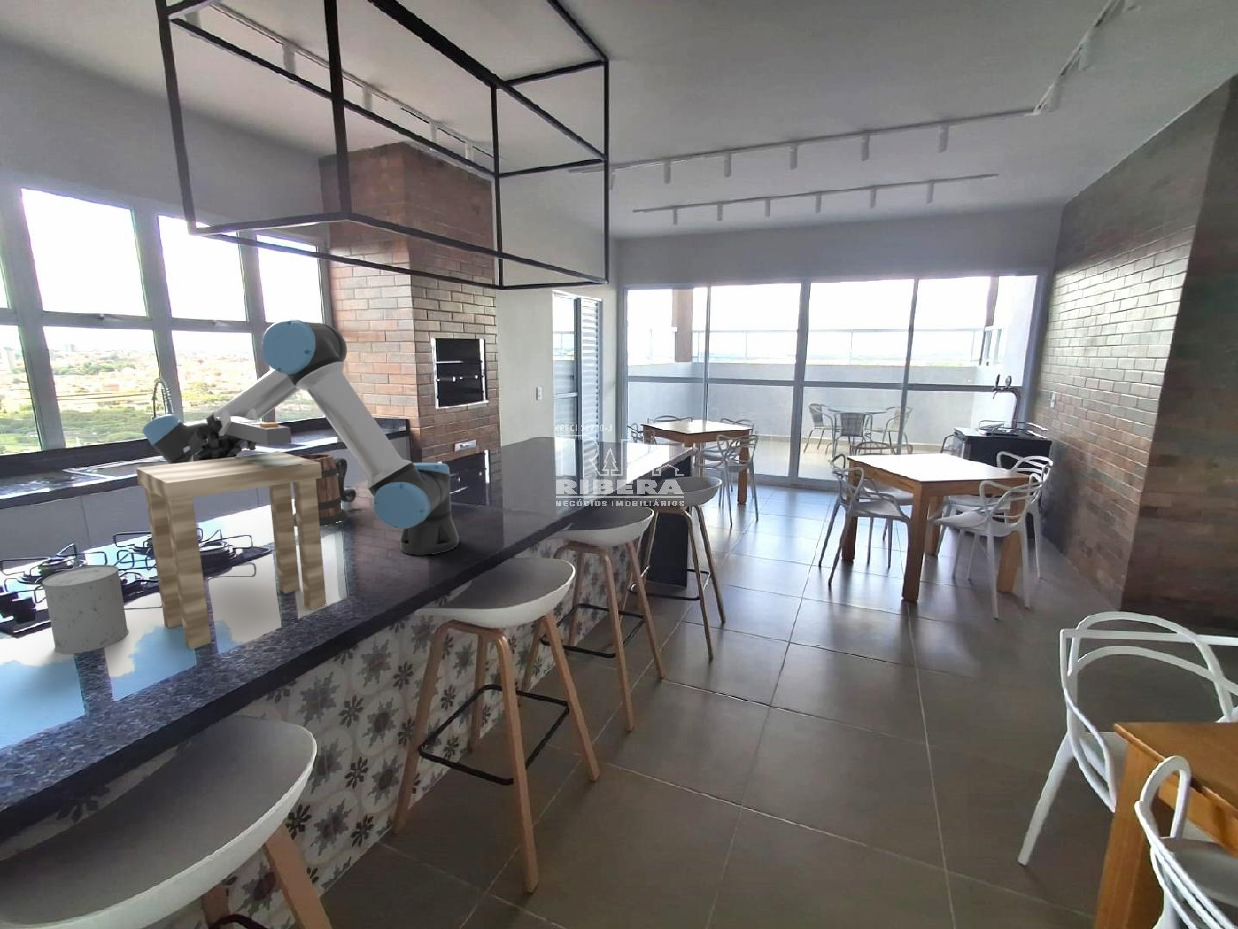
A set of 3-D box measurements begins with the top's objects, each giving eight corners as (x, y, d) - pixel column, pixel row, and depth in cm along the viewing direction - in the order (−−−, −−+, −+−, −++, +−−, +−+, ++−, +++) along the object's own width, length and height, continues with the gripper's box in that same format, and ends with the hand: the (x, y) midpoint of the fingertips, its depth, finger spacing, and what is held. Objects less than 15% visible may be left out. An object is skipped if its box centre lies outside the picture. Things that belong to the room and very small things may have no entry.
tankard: (320, 529, 161) (315, 462, 157) (274, 524, 166) (268, 458, 162) (375, 509, 183) (371, 450, 180) (333, 504, 188) (329, 447, 184)
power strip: (216, 431, 116) (214, 414, 115) (238, 430, 119) (236, 413, 118) (268, 445, 100) (266, 425, 100) (291, 443, 103) (289, 424, 103)
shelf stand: (158, 622, 105) (135, 466, 99) (293, 583, 123) (280, 451, 118) (190, 653, 94) (166, 481, 88) (332, 606, 113) (320, 461, 107)
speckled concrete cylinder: (55, 639, 98) (43, 573, 95) (126, 622, 104) (116, 560, 102) (54, 660, 91) (41, 591, 89) (130, 640, 98) (120, 575, 95)
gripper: (259, 469, 132) (292, 428, 118) (170, 480, 118) (195, 436, 104) (250, 440, 133) (281, 397, 119) (161, 448, 119) (184, 400, 105)
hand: (241, 415), depth 111 cm, fingers closed on power strip, 4 cm apart
